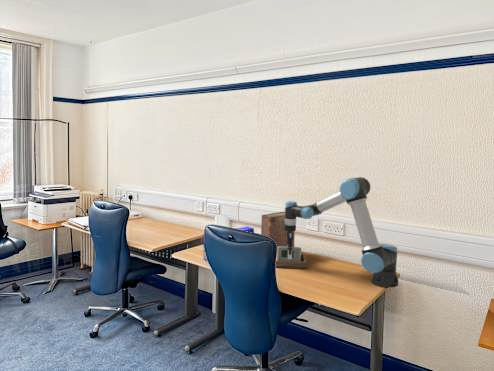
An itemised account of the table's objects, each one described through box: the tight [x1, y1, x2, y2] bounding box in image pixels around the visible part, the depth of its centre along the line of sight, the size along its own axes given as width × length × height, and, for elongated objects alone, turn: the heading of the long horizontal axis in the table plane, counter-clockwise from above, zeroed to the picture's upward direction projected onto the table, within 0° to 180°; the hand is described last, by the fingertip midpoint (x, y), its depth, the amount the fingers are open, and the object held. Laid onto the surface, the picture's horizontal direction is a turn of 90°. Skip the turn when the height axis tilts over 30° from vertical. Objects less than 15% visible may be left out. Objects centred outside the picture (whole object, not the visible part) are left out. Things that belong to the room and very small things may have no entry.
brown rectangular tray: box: [275, 254, 307, 270], centre depth 255 cm, size 17×21×4 cm
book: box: [260, 210, 296, 248], centre depth 273 cm, size 25×9×30 cm, turn 131°
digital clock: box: [277, 246, 302, 262], centre depth 254 cm, size 16×9×11 cm, turn 70°
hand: (289, 256), depth 254 cm, fingers open, 11 cm apart
